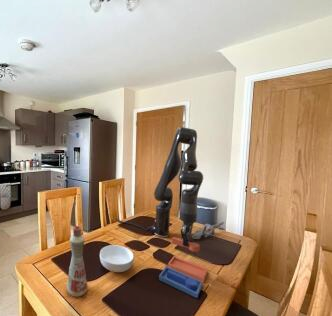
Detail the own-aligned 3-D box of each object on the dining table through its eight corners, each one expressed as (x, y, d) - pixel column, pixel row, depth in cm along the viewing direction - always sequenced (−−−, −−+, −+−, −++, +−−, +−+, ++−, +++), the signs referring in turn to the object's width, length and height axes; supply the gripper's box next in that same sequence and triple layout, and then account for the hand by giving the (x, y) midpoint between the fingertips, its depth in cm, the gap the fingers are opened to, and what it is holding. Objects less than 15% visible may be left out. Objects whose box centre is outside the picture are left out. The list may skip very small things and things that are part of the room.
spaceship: (231, 222, 139) (220, 215, 145) (200, 237, 123) (189, 228, 129) (226, 230, 143) (216, 222, 149) (195, 246, 127) (185, 236, 133)
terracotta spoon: (171, 244, 99) (171, 239, 99) (174, 241, 103) (174, 235, 103) (198, 253, 91) (198, 247, 91) (200, 249, 95) (200, 243, 95)
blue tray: (158, 279, 90) (158, 275, 90) (165, 270, 97) (165, 266, 97) (197, 298, 80) (197, 293, 80) (202, 286, 87) (202, 281, 87)
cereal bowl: (110, 282, 88) (111, 267, 87) (93, 262, 102) (94, 249, 102) (140, 272, 95) (140, 258, 95) (120, 254, 110) (120, 242, 109)
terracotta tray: (167, 267, 100) (167, 263, 99) (173, 259, 107) (173, 255, 106) (203, 282, 89) (203, 278, 89) (207, 272, 96) (207, 268, 96)
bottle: (78, 279, 89) (80, 220, 87) (91, 291, 82) (93, 227, 80) (62, 288, 83) (63, 225, 81) (74, 301, 77) (76, 233, 74)
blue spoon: (165, 278, 91) (166, 272, 90) (169, 273, 94) (169, 268, 94) (195, 292, 83) (195, 286, 82) (197, 286, 86) (198, 280, 86)
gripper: (184, 205, 103) (182, 237, 104) (175, 212, 92) (173, 247, 94) (200, 209, 98) (197, 242, 100) (193, 216, 88) (190, 253, 89)
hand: (185, 244), depth 97 cm, fingers closed on terracotta spoon, 2 cm apart
